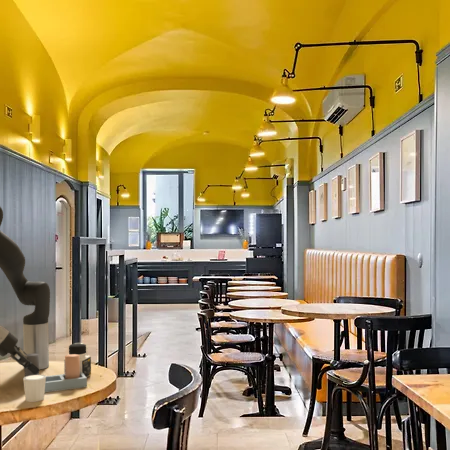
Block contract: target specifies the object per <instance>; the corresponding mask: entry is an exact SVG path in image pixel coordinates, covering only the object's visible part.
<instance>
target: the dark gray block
mask: <svg viewBox="0 0 450 450" xmlns="http://www.w3.org/2000/svg"><path fill="white" fill-rule="evenodd" d="M26 356H28V360H30V361H31V362H32V363H33V364H34V365H35V366H36V367H37V368H39V354H27V355H26ZM26 363H27V361H25V362H24V364H26ZM30 375H35V374H33V373H32V372H31V371H30V370H29V369H27V368H25V369H24V377H26V376H30ZM36 375H40V371H39V372H38V373H37V374H36Z"/></svg>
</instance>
